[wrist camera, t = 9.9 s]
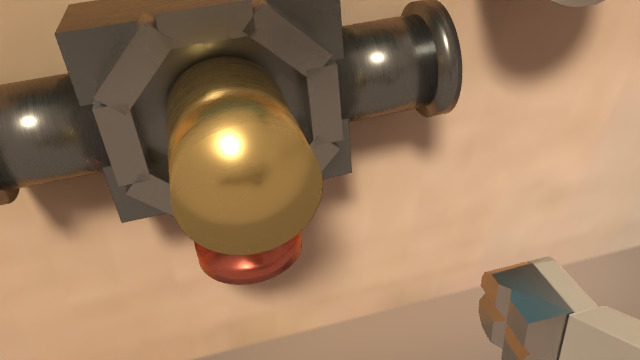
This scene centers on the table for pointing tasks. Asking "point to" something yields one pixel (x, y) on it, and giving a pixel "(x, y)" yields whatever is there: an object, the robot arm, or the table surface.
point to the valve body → (196, 46)
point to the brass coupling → (237, 159)
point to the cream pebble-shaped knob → (577, 2)
